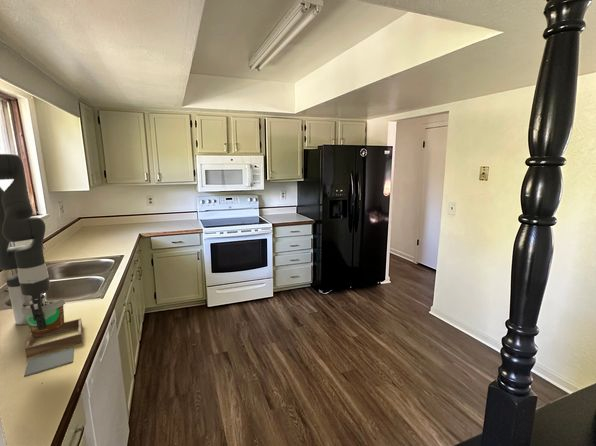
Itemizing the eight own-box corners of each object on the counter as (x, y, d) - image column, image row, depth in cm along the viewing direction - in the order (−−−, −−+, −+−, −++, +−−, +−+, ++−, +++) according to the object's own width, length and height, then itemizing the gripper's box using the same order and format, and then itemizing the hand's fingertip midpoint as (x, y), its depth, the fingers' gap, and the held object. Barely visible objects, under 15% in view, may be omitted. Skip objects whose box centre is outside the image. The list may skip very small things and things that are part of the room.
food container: (18, 339, 104) (11, 311, 102) (28, 330, 110) (22, 303, 108) (61, 333, 107) (56, 305, 105) (69, 324, 113) (64, 297, 111)
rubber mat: (28, 360, 112) (28, 359, 112) (73, 348, 119) (73, 347, 119) (24, 376, 104) (24, 375, 104) (72, 362, 111) (72, 361, 111)
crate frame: (31, 338, 126) (30, 330, 125) (82, 325, 135) (80, 318, 134) (26, 357, 114) (24, 348, 113) (82, 342, 123) (80, 333, 122)
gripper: (22, 273, 109) (31, 319, 112) (15, 288, 97) (26, 338, 101) (50, 269, 113) (58, 313, 116) (46, 282, 101) (55, 330, 105)
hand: (43, 324), depth 108 cm, fingers closed on food container, 5 cm apart
